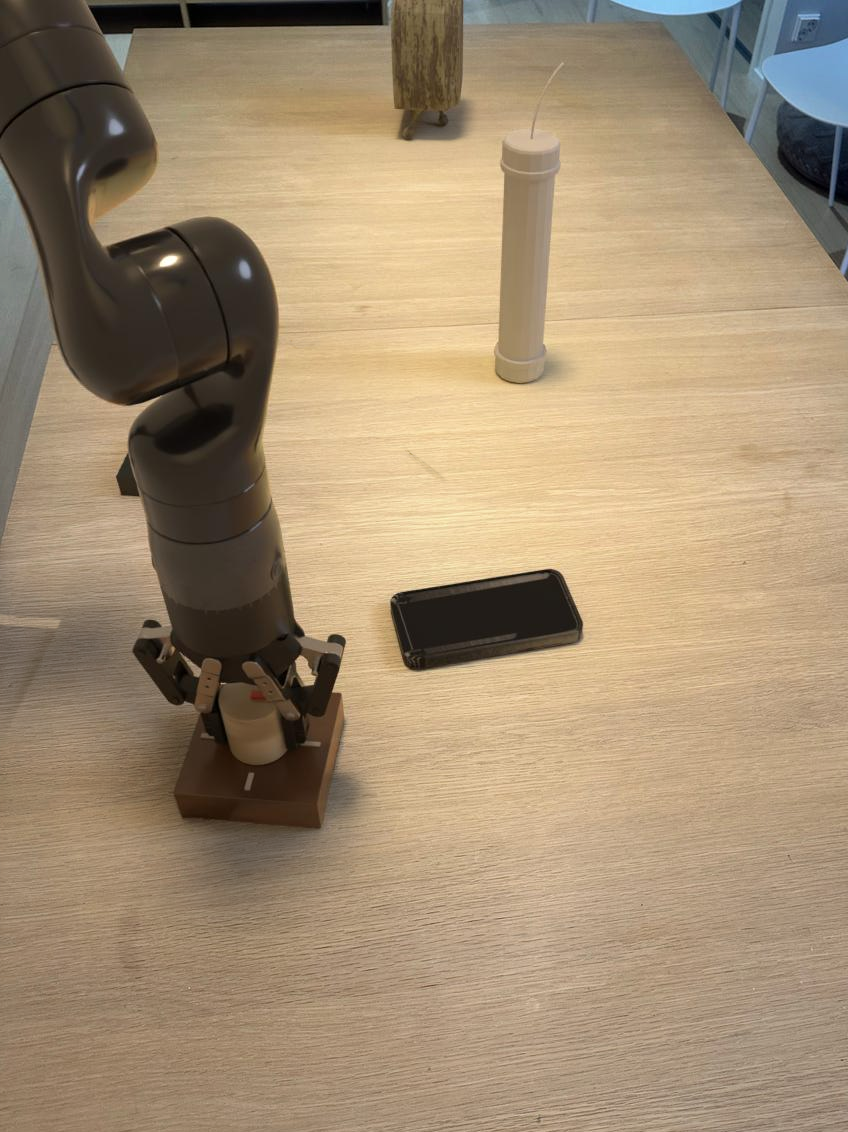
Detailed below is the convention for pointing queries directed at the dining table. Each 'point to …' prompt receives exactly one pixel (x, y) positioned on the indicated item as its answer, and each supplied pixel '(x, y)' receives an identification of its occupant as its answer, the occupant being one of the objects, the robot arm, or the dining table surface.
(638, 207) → the dining table surface
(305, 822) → the panel
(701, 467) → the dining table surface
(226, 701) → the dial
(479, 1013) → the dining table surface
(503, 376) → the dynamite stick
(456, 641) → the phone
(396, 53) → the tabletop clock
